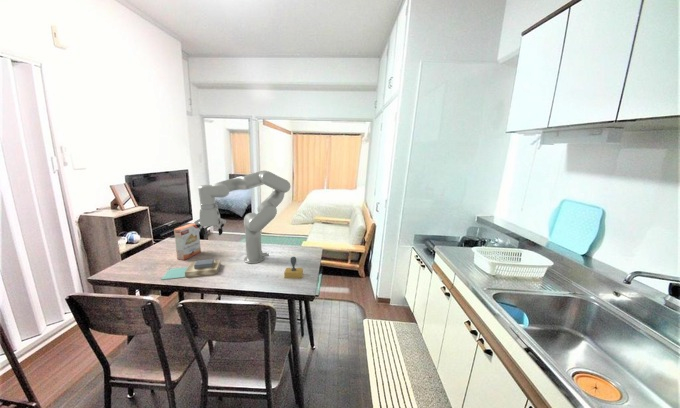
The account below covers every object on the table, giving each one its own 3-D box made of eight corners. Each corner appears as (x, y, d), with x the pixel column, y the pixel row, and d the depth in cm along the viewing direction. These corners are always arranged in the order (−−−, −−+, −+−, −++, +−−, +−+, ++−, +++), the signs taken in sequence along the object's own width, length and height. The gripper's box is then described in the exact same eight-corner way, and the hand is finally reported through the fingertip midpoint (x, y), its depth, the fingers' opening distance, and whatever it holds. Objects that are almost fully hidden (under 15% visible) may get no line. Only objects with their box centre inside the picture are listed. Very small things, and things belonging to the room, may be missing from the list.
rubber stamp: (284, 278, 135) (283, 258, 133) (286, 273, 141) (285, 254, 138) (301, 278, 136) (301, 259, 133) (302, 273, 141) (302, 254, 139)
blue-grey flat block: (213, 262, 144) (213, 258, 144) (211, 267, 139) (211, 263, 138) (197, 264, 142) (196, 260, 141) (194, 269, 136) (194, 265, 136)
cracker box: (184, 260, 152) (180, 229, 148) (176, 259, 154) (172, 228, 149) (201, 252, 166) (198, 223, 161) (194, 250, 167) (191, 222, 162)
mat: (190, 267, 144) (190, 266, 144) (184, 277, 133) (184, 276, 133) (169, 269, 141) (169, 268, 141) (161, 279, 130) (161, 279, 130)
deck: (220, 264, 149) (220, 260, 148) (216, 273, 138) (216, 269, 137) (191, 267, 144) (191, 262, 143) (185, 277, 133) (184, 272, 132)
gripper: (226, 204, 140) (229, 231, 144) (195, 205, 138) (199, 232, 142) (221, 207, 133) (225, 236, 137) (189, 208, 131) (193, 237, 135)
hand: (212, 234), depth 139 cm, fingers open, 9 cm apart
